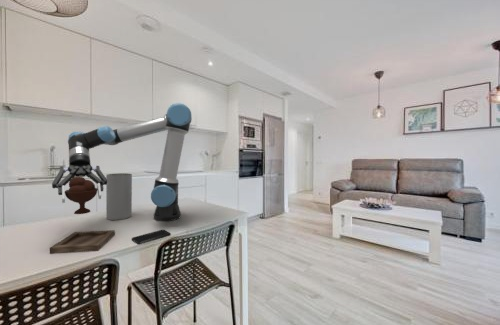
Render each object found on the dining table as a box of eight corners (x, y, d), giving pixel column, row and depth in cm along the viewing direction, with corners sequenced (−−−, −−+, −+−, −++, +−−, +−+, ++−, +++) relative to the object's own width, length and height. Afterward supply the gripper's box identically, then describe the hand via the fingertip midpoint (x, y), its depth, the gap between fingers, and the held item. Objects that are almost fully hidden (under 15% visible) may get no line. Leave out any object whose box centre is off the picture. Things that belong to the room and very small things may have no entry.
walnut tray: (114, 234, 98) (114, 230, 98) (97, 250, 83) (97, 245, 83) (75, 236, 95) (75, 231, 95) (49, 253, 79) (49, 247, 79)
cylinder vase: (119, 213, 132) (120, 172, 130) (136, 215, 128) (136, 174, 127) (100, 219, 120) (100, 174, 118) (118, 221, 116) (118, 176, 115)
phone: (171, 233, 100) (138, 243, 89) (171, 235, 100) (138, 245, 89) (163, 229, 105) (130, 237, 94) (163, 231, 105) (130, 240, 94)
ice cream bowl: (76, 217, 82) (75, 179, 81) (59, 213, 86) (58, 177, 85) (104, 210, 92) (103, 176, 91) (87, 207, 96) (86, 174, 95)
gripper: (109, 164, 107) (115, 200, 96) (44, 165, 92) (43, 208, 81) (110, 153, 103) (117, 190, 92) (43, 153, 88) (41, 197, 77)
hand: (82, 198), depth 87 cm, fingers closed on ice cream bowl, 11 cm apart
